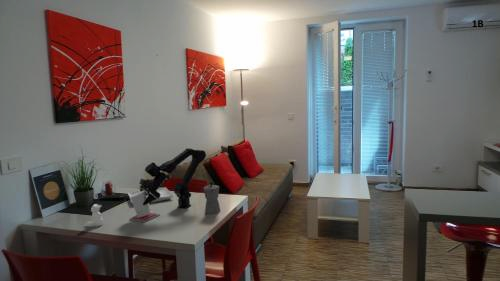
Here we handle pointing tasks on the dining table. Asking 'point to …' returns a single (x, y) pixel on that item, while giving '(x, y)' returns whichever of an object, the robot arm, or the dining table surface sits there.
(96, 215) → the sitting furry creature
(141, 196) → the supplement box
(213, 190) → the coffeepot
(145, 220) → the ink pad tray
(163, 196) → the square plate
